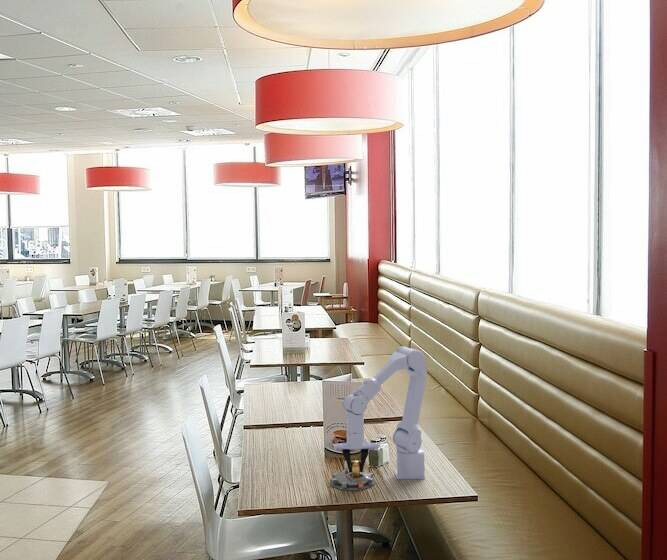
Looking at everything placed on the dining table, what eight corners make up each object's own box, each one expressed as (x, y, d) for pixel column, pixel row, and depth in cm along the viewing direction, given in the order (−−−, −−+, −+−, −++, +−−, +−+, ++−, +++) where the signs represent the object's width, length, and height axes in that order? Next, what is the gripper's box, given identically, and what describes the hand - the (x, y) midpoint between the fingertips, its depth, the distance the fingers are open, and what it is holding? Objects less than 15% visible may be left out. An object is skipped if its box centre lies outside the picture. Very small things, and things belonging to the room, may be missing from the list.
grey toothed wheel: (372, 472, 250) (372, 457, 250) (375, 487, 236) (374, 471, 236) (331, 473, 250) (331, 458, 250) (331, 488, 236) (331, 472, 236)
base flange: (373, 474, 251) (373, 472, 251) (376, 490, 236) (376, 488, 236) (330, 475, 251) (330, 473, 251) (330, 491, 236) (330, 489, 236)
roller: (361, 475, 241) (361, 460, 241) (359, 478, 238) (359, 463, 238) (352, 474, 242) (351, 459, 242) (349, 477, 239) (349, 463, 239)
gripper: (376, 427, 243) (376, 467, 244) (333, 428, 243) (333, 467, 244) (377, 433, 236) (378, 474, 237) (333, 434, 236) (333, 475, 237)
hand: (355, 471), depth 240 cm, fingers closed on roller, 3 cm apart
